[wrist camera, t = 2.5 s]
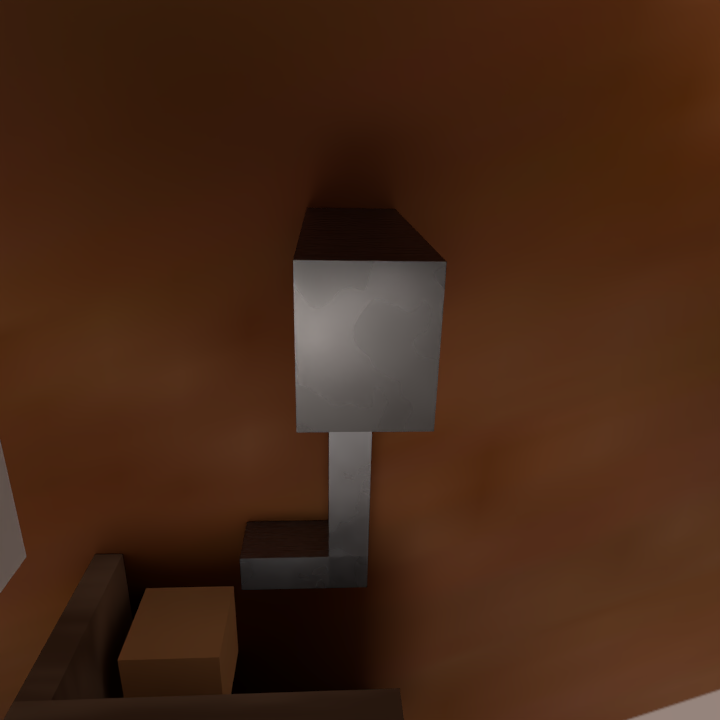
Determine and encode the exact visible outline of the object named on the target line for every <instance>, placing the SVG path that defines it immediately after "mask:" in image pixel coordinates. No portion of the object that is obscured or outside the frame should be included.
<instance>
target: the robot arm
mask: <svg viewBox="0 0 720 720" xmlns="http://www.w3.org/2000/svg"><path fill="white" fill-rule="evenodd" d="M25 558H26V553H25V548H24V544H23V539H22V535H21V530H20V526H19V521H18V517H17V513H16V508H15V504H14V499H13V495H12V490H11V486H10V481H9V477H8V472H7V468H6V464H5V459H4V455H3V450H2V446H1V441H0V593H1V591H2V590H3V588H4V587H5V586H6V584H7V583H8V581H9V580H10V579H11V577H12V576H13V575H14V573H15V572H16V570H17V569H18V568H19V566H20V565H21V563H22V562H23V561H24V559H25Z"/></svg>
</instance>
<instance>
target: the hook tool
mask: <svg viewBox="0 0 720 720" xmlns="http://www.w3.org/2000/svg"><path fill="white" fill-rule="evenodd" d="M446 263H447V262H446V261H445V260H444V259H443V258H442V257H441V256H440V254H439V253H438V252H437V251H436V250H435V249H434V248H433V247H432V246H431V245H430V244H429V243H428V242H427V241H426V240H425V239H424V238H423V237H422V236H421V235H420V234H419V233H418V232H417V231H416V230H415V229H414V228H413V227H412V226H411V225H410V224H409V223H408V222H407V221H406V220H405V219H404V218H403V217H402V216H401V215H400V214H399V212H398V211H397V210H396V209H366V208H307V210H306V213H305V217H304V221H303V225H302V229H301V232H300V236H299V240H298V244H297V248H296V251H295V255H294V259H293V277H294V326H295V375H296V424H297V432H329V521H270V522H247V525H246V530H245V535H244V540H243V545H242V550H241V555H240V571H241V586H242V590H262V589H304V588H346V587H367V568H368V537H369V506H370V475H371V445H372V432H407V431H434V421H435V408H436V395H437V382H438V368H439V355H440V342H441V329H442V316H443V302H444V289H445V276H446Z"/></svg>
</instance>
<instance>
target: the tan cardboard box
mask: <svg viewBox="0 0 720 720" xmlns="http://www.w3.org/2000/svg"><path fill="white" fill-rule="evenodd" d="M132 622H133V618H132V612H131V605H130V599H129V592H128V586H127V580H126V573H125V567H124V560H123V554H95V555H94V557H93V559H92V561H91V563H90V564H89V566H88V568H87V570H86V572H85V573H84V575H83V577H82V579H81V581H80V583H79V584H78V586H77V588H76V590H75V592H74V593H73V595H72V597H71V599H70V601H69V602H68V604H67V606H66V608H65V610H64V611H63V613H62V615H61V617H60V619H59V620H58V622H57V624H56V626H55V628H54V630H53V631H52V633H51V635H50V637H49V639H48V640H47V642H46V644H45V646H44V648H43V649H42V651H41V653H40V655H39V657H38V658H37V660H36V662H35V664H34V666H33V668H32V669H31V671H30V673H29V675H28V677H27V678H26V680H25V682H24V684H23V686H22V687H21V689H20V691H19V693H18V695H17V696H16V698H15V700H14V702H13V704H12V705H11V707H10V709H9V711H8V713H7V715H6V716H5V718H4V720H404V718H403V710H402V703H401V696H400V688H397V689H367V690H338V691H309V692H280V693H251V694H222V695H193V696H164V697H135V698H124V695H123V690H122V684H121V678H120V672H119V667H118V661H117V660H118V658H119V655H120V653H121V650H122V647H123V645H124V642H125V640H126V637H127V635H128V632H129V630H130V627H131V625H132Z"/></svg>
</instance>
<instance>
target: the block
mask: <svg viewBox="0 0 720 720" xmlns="http://www.w3.org/2000/svg"><path fill="white" fill-rule="evenodd" d="M237 656H238V639H237V625H236V611H235V597H234V586H219V587H176V588H146V590H145V592H144V595H143V597H142V600H141V602H140V605H139V607H138V610H137V612H136V615H135V617H134V620H133V622H132V625H131V627H130V630H129V632H128V635H127V637H126V640H125V642H124V645H123V647H122V650H121V653H120V655H119V658H118V660H117V661H118V667H119V672H120V678H121V684H122V690H123V695H124V698H135V697H164V696H193V695H222V694H231V692H232V686H233V680H234V674H235V668H236V662H237Z"/></svg>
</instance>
